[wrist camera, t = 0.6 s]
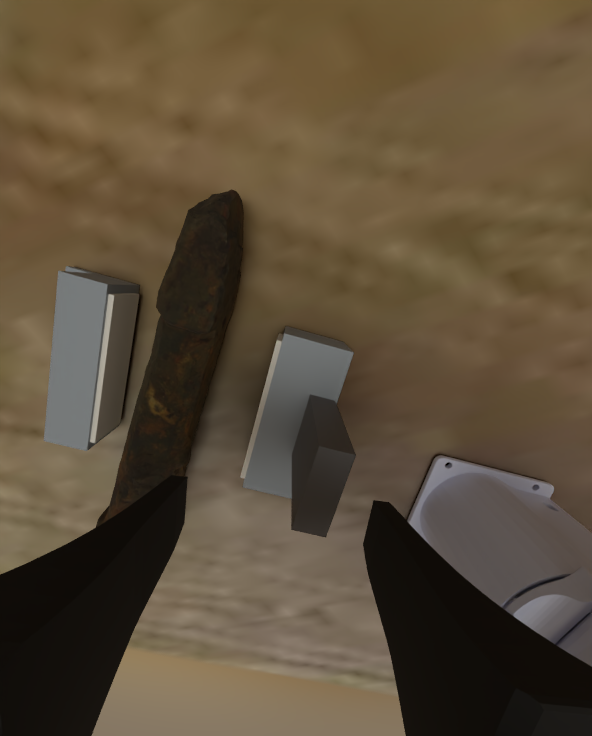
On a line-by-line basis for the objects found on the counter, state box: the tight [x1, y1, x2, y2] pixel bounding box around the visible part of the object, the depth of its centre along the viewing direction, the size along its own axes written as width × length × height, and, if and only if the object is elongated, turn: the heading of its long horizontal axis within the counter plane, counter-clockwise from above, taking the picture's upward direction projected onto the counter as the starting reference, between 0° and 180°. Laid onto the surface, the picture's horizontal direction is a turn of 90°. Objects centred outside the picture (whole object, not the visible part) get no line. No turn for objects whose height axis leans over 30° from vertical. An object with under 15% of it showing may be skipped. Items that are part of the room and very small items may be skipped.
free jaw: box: [240, 326, 356, 537], centre depth 17 cm, size 4×10×10 cm, turn 164°
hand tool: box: [96, 190, 243, 527], centre depth 19 cm, size 23×5×6 cm, turn 157°
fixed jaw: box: [44, 266, 140, 451], centre depth 19 cm, size 4×10×4 cm, turn 164°
